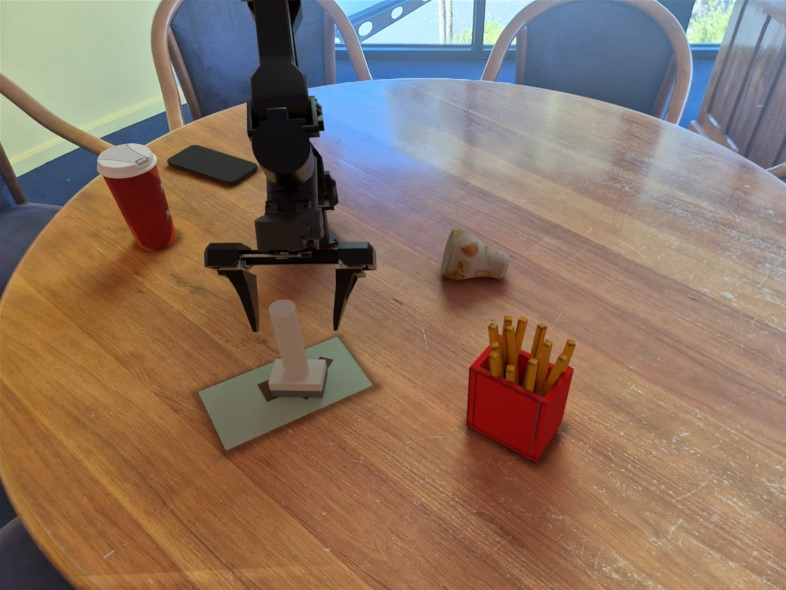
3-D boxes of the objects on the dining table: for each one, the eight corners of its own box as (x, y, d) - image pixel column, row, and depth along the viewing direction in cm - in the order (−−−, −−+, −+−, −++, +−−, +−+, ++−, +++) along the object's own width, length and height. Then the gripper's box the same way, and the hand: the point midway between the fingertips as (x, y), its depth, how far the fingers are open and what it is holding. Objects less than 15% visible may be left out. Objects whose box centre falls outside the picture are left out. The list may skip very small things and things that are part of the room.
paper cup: (195, 233, 96) (166, 149, 86) (158, 260, 91) (123, 174, 81) (156, 220, 98) (123, 136, 88) (118, 245, 93) (79, 160, 83)
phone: (231, 183, 105) (163, 160, 109) (232, 187, 106) (165, 165, 110) (259, 164, 110) (193, 143, 114) (260, 168, 110) (195, 147, 114)
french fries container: (495, 390, 76) (504, 304, 66) (562, 424, 72) (582, 338, 62) (464, 429, 71) (468, 343, 61) (534, 466, 68) (550, 381, 58)
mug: (514, 291, 89) (485, 249, 82) (455, 304, 93) (422, 265, 86) (517, 250, 93) (489, 207, 85) (459, 265, 97) (428, 224, 90)
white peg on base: (271, 397, 73) (248, 319, 64) (279, 372, 76) (257, 294, 67) (323, 397, 73) (306, 321, 65) (328, 372, 76) (313, 296, 67)
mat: (198, 394, 74) (197, 391, 73) (337, 338, 81) (337, 335, 81) (226, 452, 68) (225, 450, 68) (373, 387, 75) (372, 384, 75)
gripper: (182, 179, 63) (187, 332, 64) (366, 179, 65) (370, 329, 65) (219, 203, 74) (222, 333, 75) (375, 202, 76) (378, 330, 76)
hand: (295, 331), depth 72 cm, fingers open, 9 cm apart
